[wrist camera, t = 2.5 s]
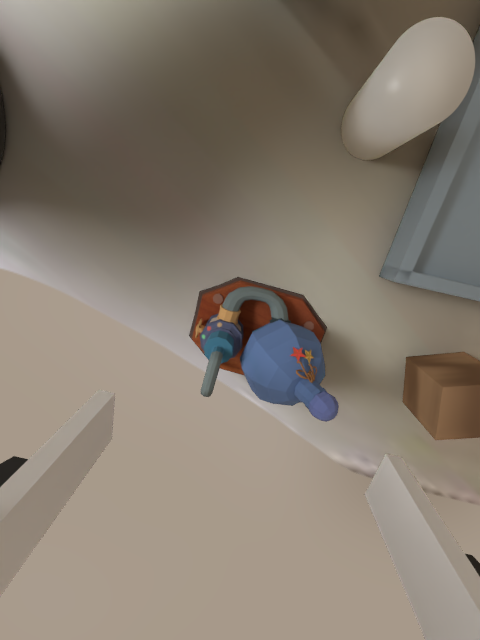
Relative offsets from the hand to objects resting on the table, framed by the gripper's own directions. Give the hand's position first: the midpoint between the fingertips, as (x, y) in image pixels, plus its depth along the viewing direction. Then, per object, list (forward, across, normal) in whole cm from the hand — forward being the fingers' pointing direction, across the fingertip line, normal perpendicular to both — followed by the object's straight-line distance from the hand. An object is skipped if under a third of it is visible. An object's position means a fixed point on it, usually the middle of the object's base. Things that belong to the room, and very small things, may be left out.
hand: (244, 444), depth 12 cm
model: (+13, 0, +1) cm, 13 cm away
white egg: (+12, +5, +18) cm, 23 cm away
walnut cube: (+13, +18, 0) cm, 22 cm away
